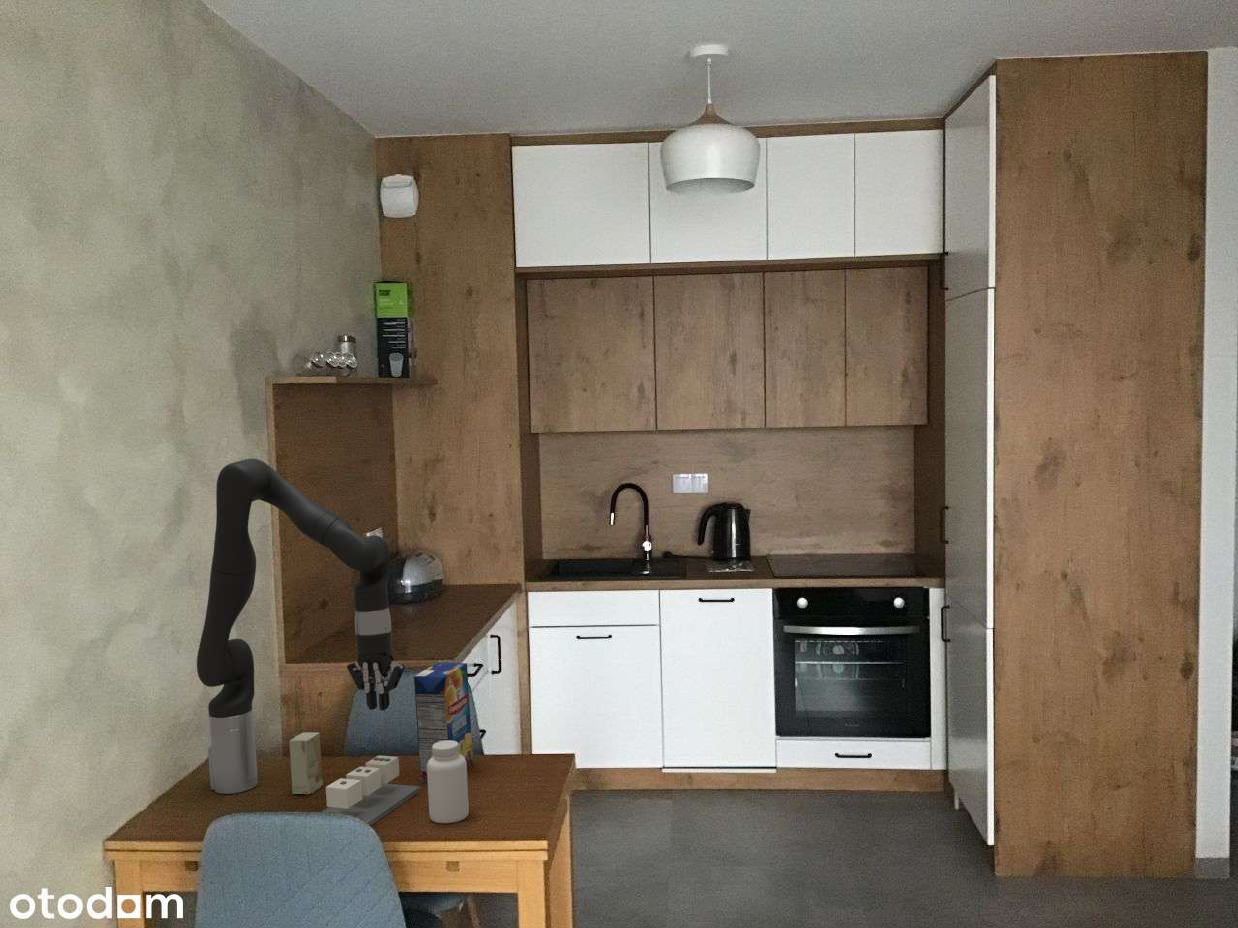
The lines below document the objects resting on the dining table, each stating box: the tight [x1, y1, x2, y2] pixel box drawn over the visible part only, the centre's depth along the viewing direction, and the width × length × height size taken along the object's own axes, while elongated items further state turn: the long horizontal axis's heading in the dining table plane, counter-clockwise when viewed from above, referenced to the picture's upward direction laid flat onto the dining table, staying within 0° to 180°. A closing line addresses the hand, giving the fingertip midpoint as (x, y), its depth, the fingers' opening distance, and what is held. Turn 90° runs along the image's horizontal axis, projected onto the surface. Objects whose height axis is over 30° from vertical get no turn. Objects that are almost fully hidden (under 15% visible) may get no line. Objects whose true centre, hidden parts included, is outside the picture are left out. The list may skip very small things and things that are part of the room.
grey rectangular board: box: [321, 783, 421, 826], centre depth 217 cm, size 13×22×1 cm, turn 160°
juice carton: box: [413, 662, 474, 784], centre depth 234 cm, size 12×8×24 cm, turn 164°
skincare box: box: [289, 731, 324, 795], centre depth 229 cm, size 6×4×12 cm
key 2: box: [345, 766, 381, 796], centre depth 216 cm, size 5×5×4 cm
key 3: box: [365, 755, 400, 784], centre depth 223 cm, size 5×5×4 cm
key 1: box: [325, 778, 362, 809], centre depth 210 cm, size 5×5×4 cm
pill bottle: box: [427, 740, 470, 824], centre depth 209 cm, size 8×8×15 cm
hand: (378, 708), depth 222 cm, fingers closed
